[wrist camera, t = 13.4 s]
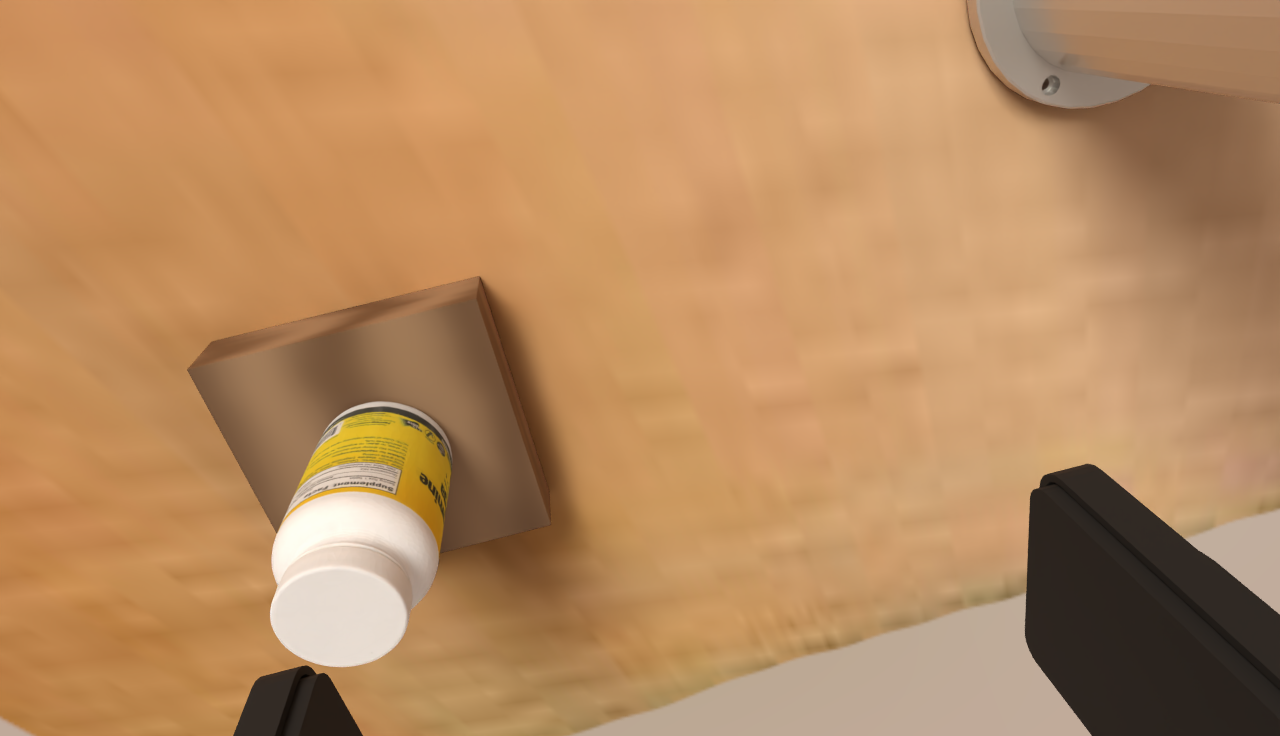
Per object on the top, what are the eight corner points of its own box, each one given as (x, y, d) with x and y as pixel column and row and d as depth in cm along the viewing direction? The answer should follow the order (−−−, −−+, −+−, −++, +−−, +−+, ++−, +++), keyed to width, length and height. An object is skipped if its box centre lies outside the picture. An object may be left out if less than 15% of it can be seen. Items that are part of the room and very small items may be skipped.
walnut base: (479, 276, 37) (476, 298, 34) (549, 491, 43) (551, 524, 40) (211, 341, 36) (187, 369, 34) (319, 549, 42) (306, 587, 40)
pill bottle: (452, 507, 39) (428, 684, 29) (322, 503, 38) (251, 685, 28) (457, 399, 36) (432, 553, 26) (318, 391, 35) (238, 548, 25)
